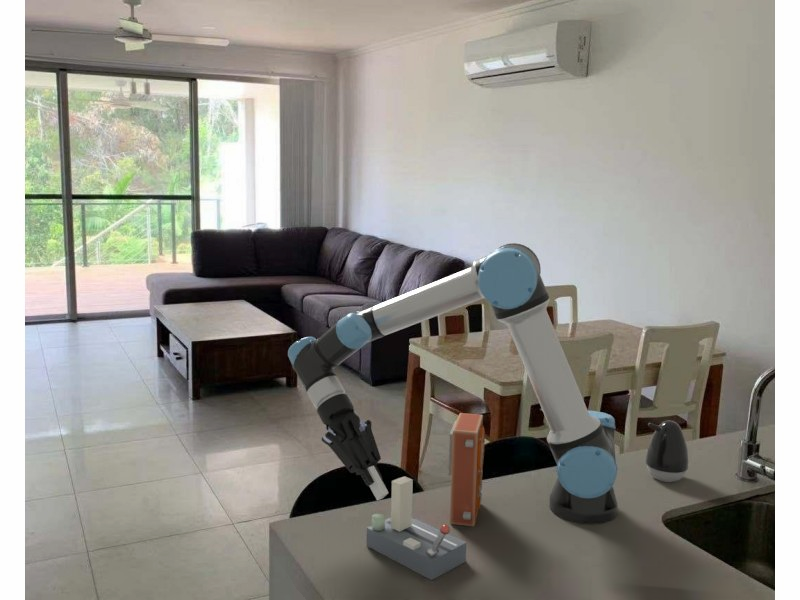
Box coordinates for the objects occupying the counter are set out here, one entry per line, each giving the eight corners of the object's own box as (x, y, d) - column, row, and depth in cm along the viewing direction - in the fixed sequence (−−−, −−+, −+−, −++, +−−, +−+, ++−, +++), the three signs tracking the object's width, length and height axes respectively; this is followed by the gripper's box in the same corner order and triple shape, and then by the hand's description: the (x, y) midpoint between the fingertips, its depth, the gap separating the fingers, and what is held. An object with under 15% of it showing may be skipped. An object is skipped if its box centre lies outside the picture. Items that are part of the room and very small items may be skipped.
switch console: (366, 545, 152) (366, 524, 151) (400, 530, 159) (401, 509, 158) (431, 580, 139) (432, 556, 139) (465, 561, 146) (466, 538, 146)
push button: (369, 527, 151) (369, 516, 150) (378, 523, 152) (378, 512, 152) (378, 531, 149) (378, 520, 148) (387, 527, 151) (387, 516, 150)
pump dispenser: (640, 469, 195) (644, 413, 192) (681, 471, 193) (686, 415, 191) (647, 484, 185) (652, 426, 182) (691, 487, 183) (696, 428, 181)
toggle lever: (424, 552, 140) (440, 524, 137) (431, 548, 142) (447, 521, 138) (430, 559, 139) (446, 531, 136) (437, 555, 141) (453, 528, 137)
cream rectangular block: (391, 527, 151) (391, 481, 149) (403, 522, 153) (404, 476, 152) (399, 531, 149) (400, 484, 147) (411, 525, 152) (412, 479, 150)
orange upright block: (483, 500, 174) (477, 529, 160) (453, 497, 175) (444, 526, 161) (486, 412, 171) (480, 434, 156) (456, 410, 172) (447, 431, 157)
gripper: (345, 404, 170) (395, 495, 161) (300, 416, 161) (350, 514, 152) (361, 386, 165) (414, 479, 156) (315, 398, 156) (368, 497, 147)
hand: (382, 496), depth 154 cm, fingers closed
